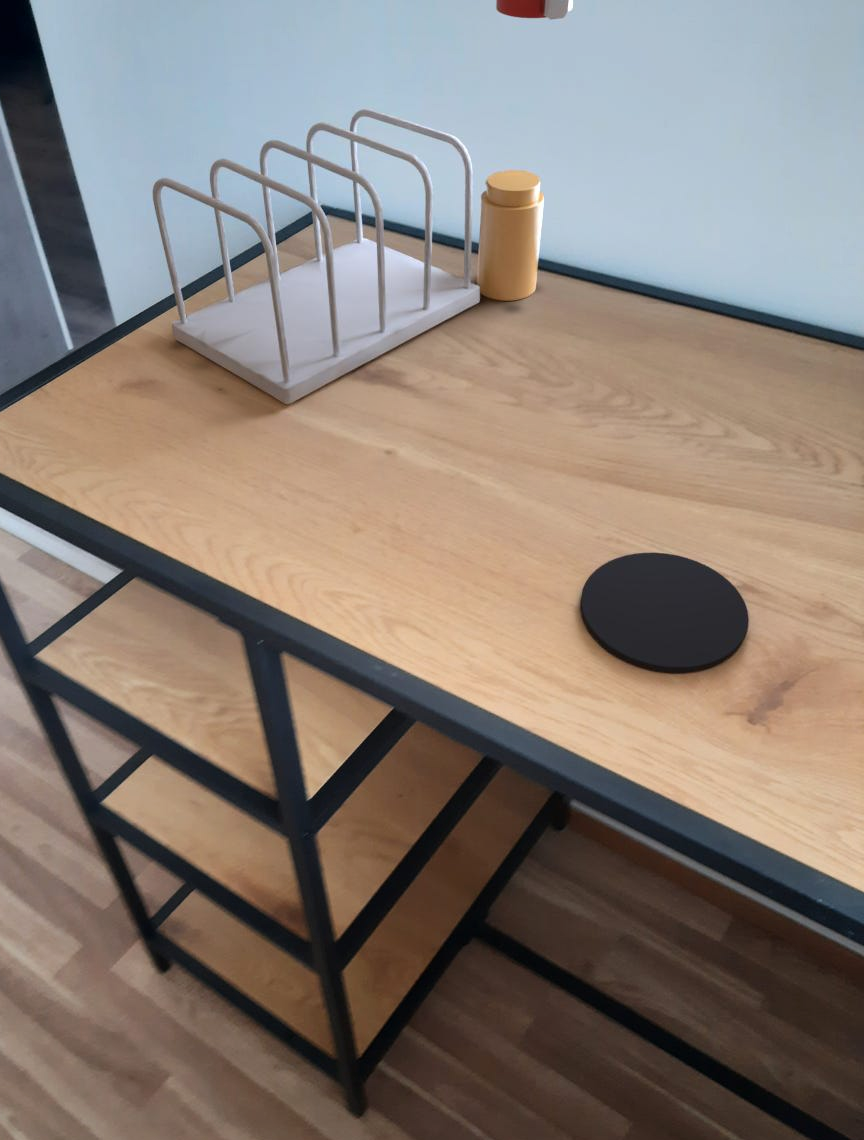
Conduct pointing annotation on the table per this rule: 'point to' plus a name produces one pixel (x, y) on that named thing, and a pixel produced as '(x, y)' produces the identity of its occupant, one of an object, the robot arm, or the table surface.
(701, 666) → the black coaster
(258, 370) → the file sorter
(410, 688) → the table surface
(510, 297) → the jar
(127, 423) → the table surface
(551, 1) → the robot arm
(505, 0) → the lid
